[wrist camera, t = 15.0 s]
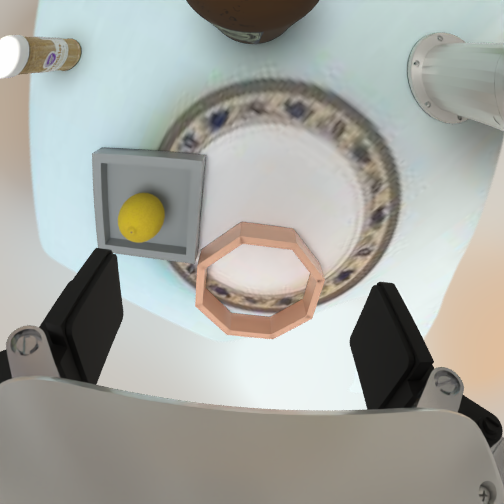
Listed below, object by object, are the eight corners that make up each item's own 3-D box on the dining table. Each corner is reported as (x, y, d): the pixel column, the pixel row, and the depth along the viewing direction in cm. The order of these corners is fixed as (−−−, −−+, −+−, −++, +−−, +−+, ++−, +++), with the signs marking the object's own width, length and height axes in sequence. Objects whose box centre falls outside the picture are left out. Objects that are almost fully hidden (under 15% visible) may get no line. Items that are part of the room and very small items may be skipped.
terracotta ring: (328, 233, 44) (334, 248, 41) (301, 324, 53) (303, 341, 49) (204, 217, 43) (199, 231, 40) (197, 313, 52) (194, 330, 48)
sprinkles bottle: (77, 72, 32) (13, 80, 21) (51, 69, 31) (-16, 78, 20) (86, 39, 30) (23, 34, 18) (58, 37, 29) (-7, 35, 18)
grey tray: (205, 154, 39) (202, 161, 36) (197, 252, 46) (194, 263, 43) (101, 147, 38) (92, 153, 35) (106, 240, 45) (98, 250, 42)
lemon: (155, 230, 43) (138, 262, 36) (123, 205, 41) (100, 234, 34) (179, 202, 41) (164, 230, 34) (146, 175, 39) (124, 199, 32)
